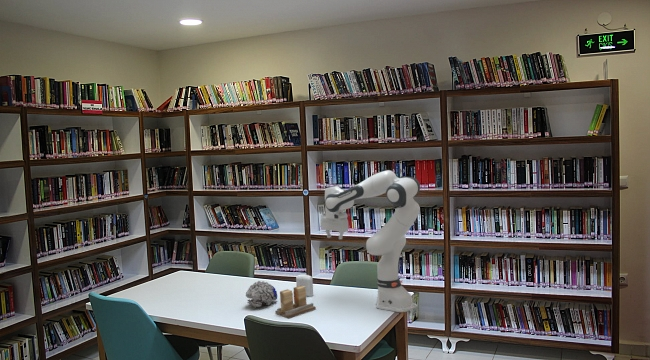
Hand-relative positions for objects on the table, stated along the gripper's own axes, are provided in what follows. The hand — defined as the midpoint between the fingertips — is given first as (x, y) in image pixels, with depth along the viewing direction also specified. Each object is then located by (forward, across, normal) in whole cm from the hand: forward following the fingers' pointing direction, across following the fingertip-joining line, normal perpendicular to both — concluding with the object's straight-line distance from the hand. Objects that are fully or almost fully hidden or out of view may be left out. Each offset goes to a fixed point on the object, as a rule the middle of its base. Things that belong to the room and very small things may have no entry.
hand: (334, 238), depth 297 cm
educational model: (+34, -23, -37) cm, 55 cm away
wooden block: (+33, +1, -28) cm, 43 cm away
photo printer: (+34, -18, -10) cm, 40 cm away
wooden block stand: (+34, +1, -32) cm, 47 cm away
